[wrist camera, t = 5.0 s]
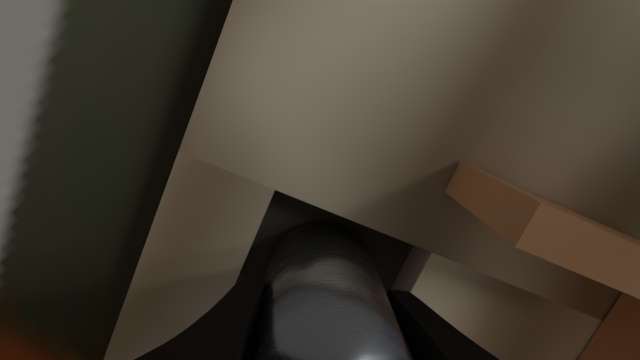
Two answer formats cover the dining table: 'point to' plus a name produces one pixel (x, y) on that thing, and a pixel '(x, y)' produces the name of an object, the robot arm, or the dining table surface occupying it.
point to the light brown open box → (563, 250)
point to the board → (402, 158)
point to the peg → (325, 301)
